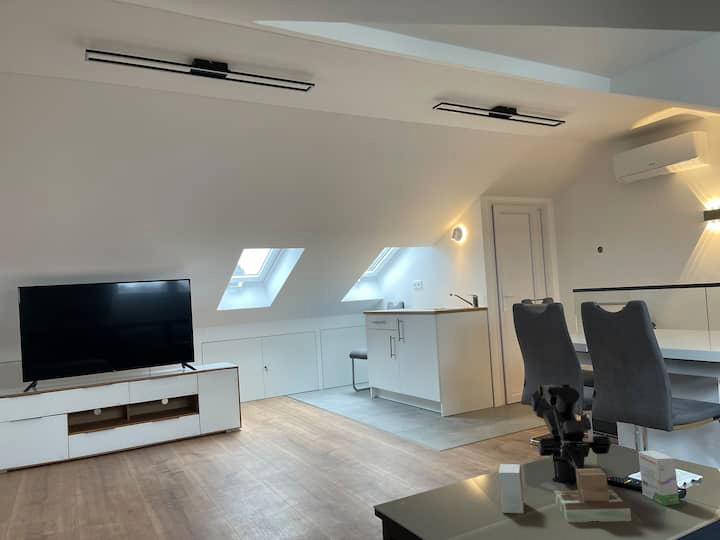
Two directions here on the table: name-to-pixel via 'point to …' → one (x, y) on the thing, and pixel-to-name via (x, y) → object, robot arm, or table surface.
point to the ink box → (658, 477)
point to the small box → (511, 488)
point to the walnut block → (592, 485)
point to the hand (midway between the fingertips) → (581, 474)
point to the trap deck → (592, 508)
